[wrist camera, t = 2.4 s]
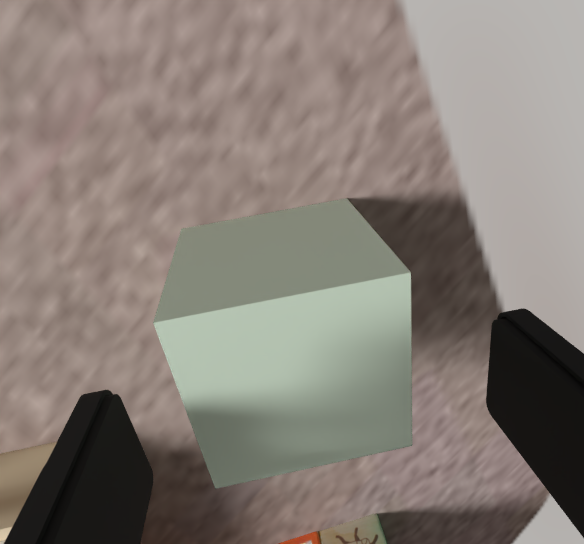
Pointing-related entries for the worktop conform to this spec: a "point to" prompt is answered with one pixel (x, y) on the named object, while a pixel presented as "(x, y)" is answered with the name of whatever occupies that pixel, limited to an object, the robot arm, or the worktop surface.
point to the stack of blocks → (346, 533)
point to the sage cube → (289, 340)
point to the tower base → (19, 481)
